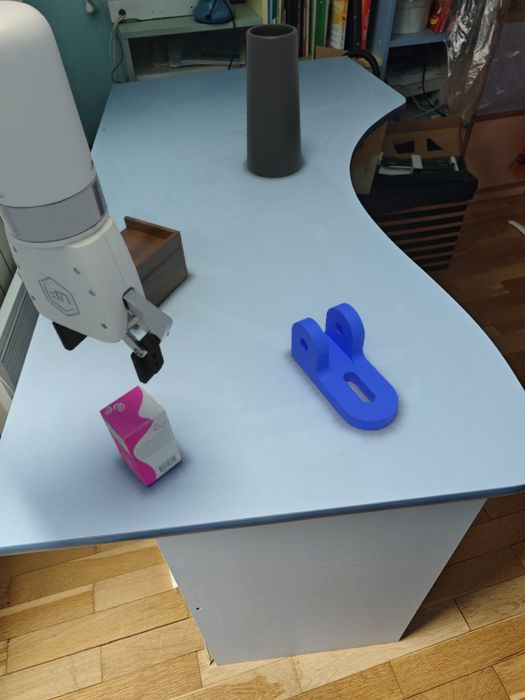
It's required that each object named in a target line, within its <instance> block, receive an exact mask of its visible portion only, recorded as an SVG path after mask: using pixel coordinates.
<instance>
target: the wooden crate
mask: <svg viewBox="0 0 525 700" xmlns="http://www.w3.org/2000/svg"><path fill="white" fill-rule="evenodd" d="M123 221H124V225H125V228H123V229H122V230H121V231H120V233H121V236H122V238H123V240H124V242H125V244H126V246H127V248H128V251H129V253H130V255H131V258H132V260H133V263H134V265H135V268H136V270H137V273H138V276H139V279H140V282H141V285H142V288H143V291H144V295H145V299H146V300H148V301H149V302H150V303H152V304H153V305H154V306H156V307H157V308H158V309H159V307H160V306H161V305H163V303H165V301H166V300H167V299H168V298H169V297H170V296H171V295H172V294H173V293H174V292H175V291H176V290H177V289H178V288H179V287H180V286H181V285H182V284H183V283H184V282H185V281H186V280H187V279H188V278H189V272H188V266H187V262H186V261H187V260H186V257H185V250H184V245H183V239H182V234H181V230H176V229H175V228H170V227H167V226H164V225H160V224H156V223H152V222H148V221H146V220H143V219H139V218H136V217H132V216H129V215H125V216H124V217H123ZM131 317H132V315H131V314H130V313H129V312H127V320H128V319H129V318H131ZM139 327H140V326H139V325H138V324H137V323H136V324H135V325H134V326H133V327H132V328H131V330H137V329H138V328H139Z"/></svg>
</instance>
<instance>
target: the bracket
mask: <svg viewBox="0 0 525 700" xmlns="http://www.w3.org/2000/svg"><path fill="white" fill-rule="evenodd" d="M365 338H366V331H365V326H364V323H363V321H362V319H361V316H360V314H359V313H358V311H357V310H356V309H355V308H354V307H353V306H352V305H351V304H349V303H347V302H342V303H339V304H337V305H334V306H331V307H329V308H328V309H327V311H326V313H325V326H324V330H323V328H322V327H321V326H320V325H319V323H318V322H317V321H316V320H315V319H313V318H312V317H305V318H303V319H301V320H299V321H295V322H294V323H292V325H291V338H290V339H291V343H290V344H291V345H290V346H291V349H290V351H291V352H290V354H291V355H290V356H291V357H292V359H294V361H295V362H296V363H297V364H298V366H299V367H300V368H301V369H302V370H303V372H304V373H305V375H307V377H308V378H309V380H311V382H312V383H313V384H314V385H315V386H316V388H317V389H318V390H319V392H320V393H321V394H322V395H323V396H324V397H325V399H326V400H327V402H329V404H330V405H331V406H332V407H333V408H334V410H335V411H336V412H337V413H338V415H339V417H341V419H343V421H345V423H347V424H348V425H350V426H352V427H354V428H356V429H359V430H363V431H364V430H365V431H375V430H380V429H382V428H385V427H386V426H388V425H389V424H390V423H391V422H392V421H393V420H394V418H395V415H396V413H397V408H398V405H399V395H398V393H397V390H396V388H394V386H393V385H392V384H391V383H390V382H389V381H388V380H387V379H386V378H385V377H384V376H383V375H382V374H381V372H380V371H379V370H378V369H376V367H375V366H374V365H373V364H372V363H371V362H370V361H369V360H368V359H367V358H366V356H365V353H364V344H365ZM348 382H352V383H354V384H355V386H356V387H357V388H358V389H359V390H360V391H361V392H362V394H363V395H364V396H365V397H366V398H367V400H369V402H366V401H364V400H363V399H362V398H361V397H360V395H359V394H358V393H357V392H356V391H355V390H354V389H353V388H352V387H351V386H350V385H349V383H348Z"/></svg>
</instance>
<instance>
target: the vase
mask: <svg viewBox="0 0 525 700" xmlns="http://www.w3.org/2000/svg"><path fill="white" fill-rule="evenodd" d="M245 36H246V37H245V38H246V39H245V40H246V41H245V43H246V46H245V47H246V49H245V50H246V51H245V52H246V53H245V55H246V57H245V58H246V61H245V62H246V66H245V67H246V68H245V69H246V73H245V74H246V75H245V76H246V167H247V169H248V171H249V172H250V173H251V174H254V175H256V176H259V177H263V178H272V179H273V178H283V177H288V176H290V175H293V174H295V173H296V172H298V171H299V170H300V169H301V167H302V161H303V159H302V136H301V135H302V131H301V130H302V128H301V126H302V125H301V100H300V99H301V98H300V97H301V96H300V70H299V41H298V40H299V39H298V37H299V36H298V28H296V27H295V26H293V25H290V24H286V23H264V24H258V25H255V26H252V27H250V28H248V29H247V31H246V35H245Z"/></svg>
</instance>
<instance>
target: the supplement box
mask: <svg viewBox="0 0 525 700" xmlns="http://www.w3.org/2000/svg"><path fill="white" fill-rule="evenodd" d="M99 413H100V415H101V418H102V420H103V422H104V424H105V426H106V428H107V430H108V432H109V434H110V436H111V437H112V440H113V442H114V444H115V445H116V448H117V450H118V452H119V454H120V456H121V458H122V460H123V462H124V463H125V464H126V465H127V467H128V468H129V469H130V471H131V472H132V473H133V474H134V475H135V476H136V478H137V479H138V480H139V481H140V482H141V483H142V484H143V485H144V487H146V488H147V489H149V488H150V487H151V486H153V485H154V484H156V482H157V483H158V481H159V480H161V479H162V478H164V477H165V475H167V474H168V473H170V472H171V471H172V470H173V469H174V468H176V467H177V466H178V465H179V464H181V463H182V462H183V459H182V456H181V453H180V450H179V447H178V444H177V442H176V438H175V435H174V432H173V429H172V426H171V422H170V420H169V418H168V415H167V412H166V409H165V408H164V407H163V406H161V404H160V403H159V402H158V401H156V399H154V398H153V397H152V396H151V395H150V394H149V393H148V392H147V391H146V390H145V389H144V388H143V387H142V386H141V385H140V384H138V385H136V386H135V387H133V388H132V389H130V390H129V391H128V392H126V393H124V394H122V395H121V396H120V397H118V398H117V399H115V400H114V401H112V402H111V403H109V404H107V405H106V406H105V407H103V408H101V409H100V410H99Z"/></svg>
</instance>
